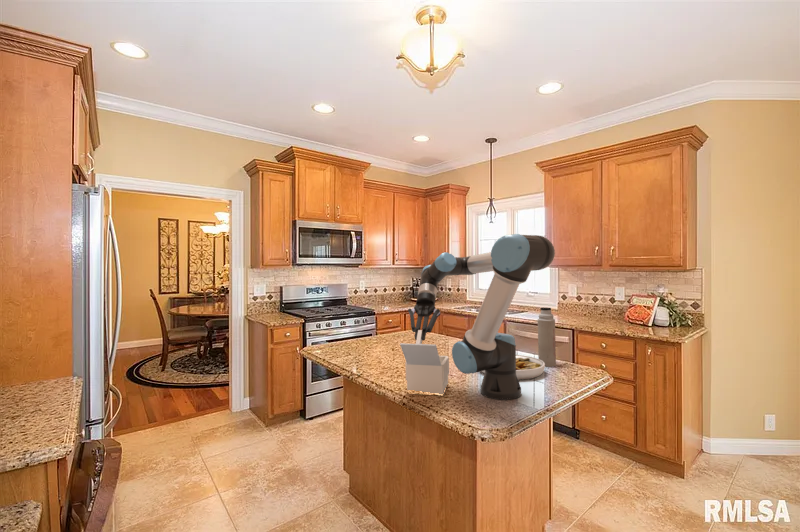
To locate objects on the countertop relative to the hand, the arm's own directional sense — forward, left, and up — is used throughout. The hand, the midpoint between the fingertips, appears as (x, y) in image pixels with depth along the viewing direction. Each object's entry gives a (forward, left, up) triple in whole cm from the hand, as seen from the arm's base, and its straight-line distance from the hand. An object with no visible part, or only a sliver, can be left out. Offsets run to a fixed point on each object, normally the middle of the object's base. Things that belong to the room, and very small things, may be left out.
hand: (418, 346), depth 139 cm
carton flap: (+2, -2, -3) cm, 5 cm away
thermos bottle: (+30, -75, -20) cm, 83 cm away
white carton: (+13, -8, -20) cm, 25 cm away
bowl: (+25, -52, -21) cm, 61 cm away
